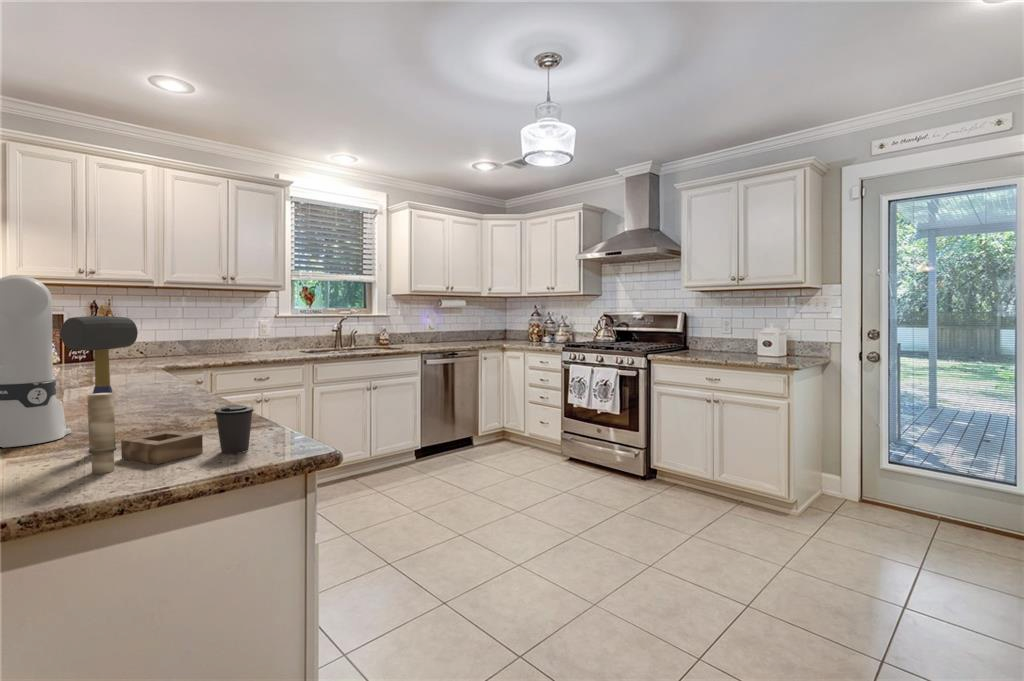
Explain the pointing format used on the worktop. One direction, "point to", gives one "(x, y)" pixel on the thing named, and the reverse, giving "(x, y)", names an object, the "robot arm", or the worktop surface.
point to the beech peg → (101, 431)
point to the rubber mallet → (99, 341)
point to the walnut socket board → (161, 446)
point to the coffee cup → (234, 428)
